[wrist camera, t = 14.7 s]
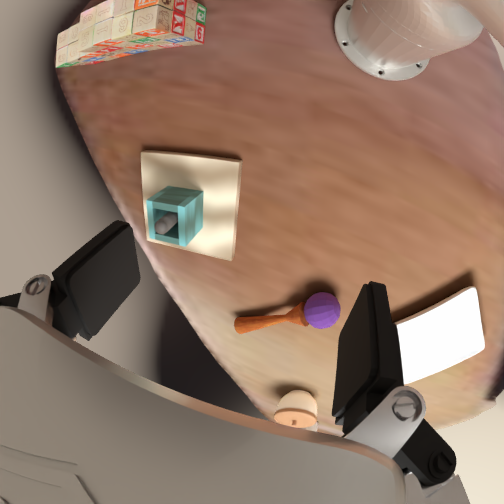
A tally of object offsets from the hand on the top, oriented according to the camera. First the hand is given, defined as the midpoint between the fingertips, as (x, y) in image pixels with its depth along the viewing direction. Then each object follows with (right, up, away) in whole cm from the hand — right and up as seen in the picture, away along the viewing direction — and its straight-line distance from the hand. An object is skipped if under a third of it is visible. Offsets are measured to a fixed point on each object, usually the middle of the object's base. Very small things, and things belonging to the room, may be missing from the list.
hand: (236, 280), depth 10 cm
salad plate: (+37, -15, +33) cm, 52 cm away
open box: (-10, +8, +30) cm, 33 cm away
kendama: (+7, -9, +38) cm, 40 cm away
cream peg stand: (-9, +9, +32) cm, 34 cm away
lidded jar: (+13, -36, +53) cm, 66 cm away
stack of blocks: (-16, +34, +18) cm, 42 cm away
